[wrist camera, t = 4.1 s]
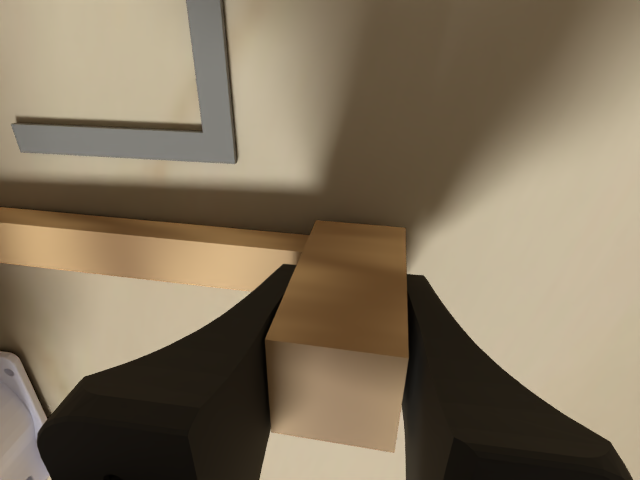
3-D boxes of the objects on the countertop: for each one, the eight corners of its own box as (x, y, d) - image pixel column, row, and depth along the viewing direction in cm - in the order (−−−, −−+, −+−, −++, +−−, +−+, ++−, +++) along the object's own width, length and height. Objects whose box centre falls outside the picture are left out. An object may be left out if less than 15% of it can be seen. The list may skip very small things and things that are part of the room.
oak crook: (-63, 249, 18) (-257, 344, 12) (-175, 27, 14) (-532, 30, 8) (396, 301, 15) (394, 452, 10) (428, 38, 11) (456, 51, 5)
